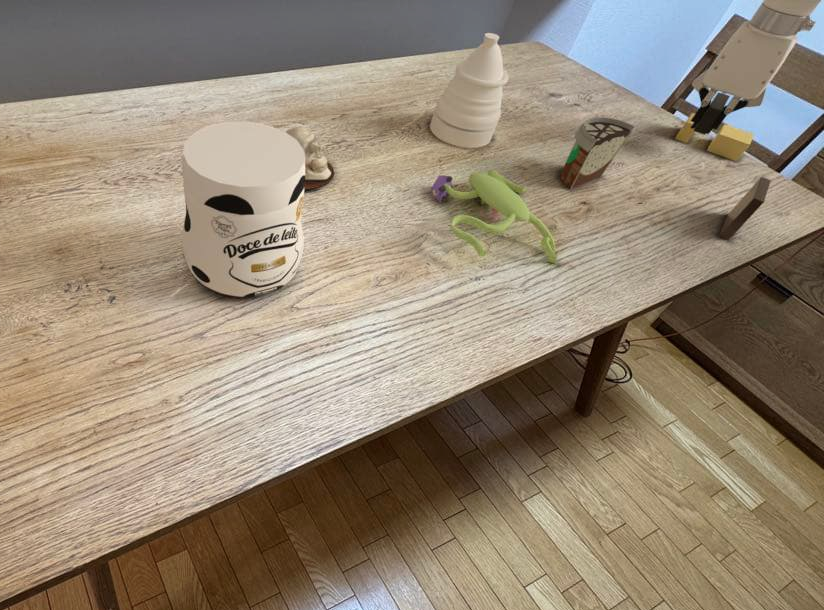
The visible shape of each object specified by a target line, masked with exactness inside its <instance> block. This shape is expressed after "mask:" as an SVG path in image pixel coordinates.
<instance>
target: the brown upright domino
mask: <svg viewBox="0 0 824 610" xmlns="http://www.w3.org/2000/svg"><path fill="white" fill-rule="evenodd" d="M771 182H772V180H771V179H769V178H766V177H764V176H760V178H759V179H758V180H757V181H756V182H755V183H754V184H753V186H752V187H751V188H750V189H749V190H748V191H747V192H746V193H745V195H743V197H741V199H740V200H739V201H738V203H736V205H735V206H734V207H733V208H732V209H731V210H730V212H729V213H727V215H726V218H725V220H724V223H723V225H722V227H721V231H720V233H719V236H718V237H719V238H721V239H725V240H726V241H729V240H731V238H732V237H733V236H734V235H735V234H736V233H737V232H738V231H739V230H740V229H741V228H742V227H743V225H745V223H747V221H748V220H749V219H750V218H751V217H752V216H753V214H755V212H756V211H757V210H758V209H759V208H760V207H761V206H762V205H763V204H764V203H765V201H766V198H767V193H768V191H769V188H770V186H771V185H770V184H771Z"/></svg>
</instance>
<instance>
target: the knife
mask: <svg viewBox="0 0 824 610" xmlns="http://www.w3.org/2000/svg"><path fill="white" fill-rule="evenodd" d="M730 97H731V96H730V95H729V94H727V93H724V92H720V91H717V93H716V94H715V96H714V97H713V98H712V100H711V103H710V106H709V108H708V109H707V111H706V112H705V114H704V115H703V117H702V118H701V120H700V121H699V122H698V124H697V125H696V127H695V129H694V130H693V131H695V132H696V133H698V134H701V135H707V134H706V132H707V131H708V130H709V128H710V127H711V126H712V124H713V123H714V121H715V120H716V119H717V117H718V116H719V114H720V113H721V112H722V110H723V108H724V107H725V106H726V104H727V102H728V100H729V98H730ZM695 132H694V133H695Z"/></svg>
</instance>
